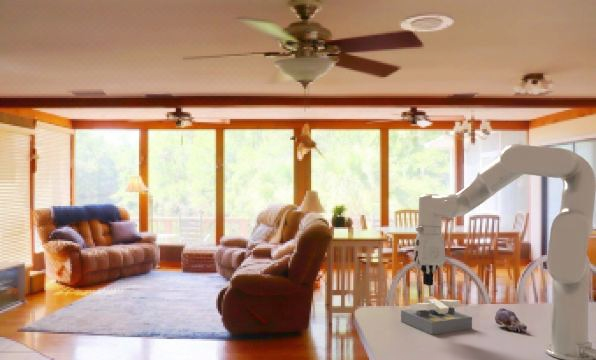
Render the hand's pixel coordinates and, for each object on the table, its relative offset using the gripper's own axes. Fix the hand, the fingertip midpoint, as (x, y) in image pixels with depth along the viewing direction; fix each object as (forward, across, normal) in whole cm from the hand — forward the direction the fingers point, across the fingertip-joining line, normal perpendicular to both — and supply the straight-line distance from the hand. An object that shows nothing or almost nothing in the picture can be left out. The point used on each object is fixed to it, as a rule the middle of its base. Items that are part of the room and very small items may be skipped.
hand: (428, 284), depth 176 cm
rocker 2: (+8, +6, +3) cm, 10 cm away
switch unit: (+15, +6, +3) cm, 16 cm away
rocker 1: (+8, 0, +3) cm, 9 cm away
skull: (+15, +27, -11) cm, 33 cm away
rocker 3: (+8, +11, +3) cm, 14 cm away
